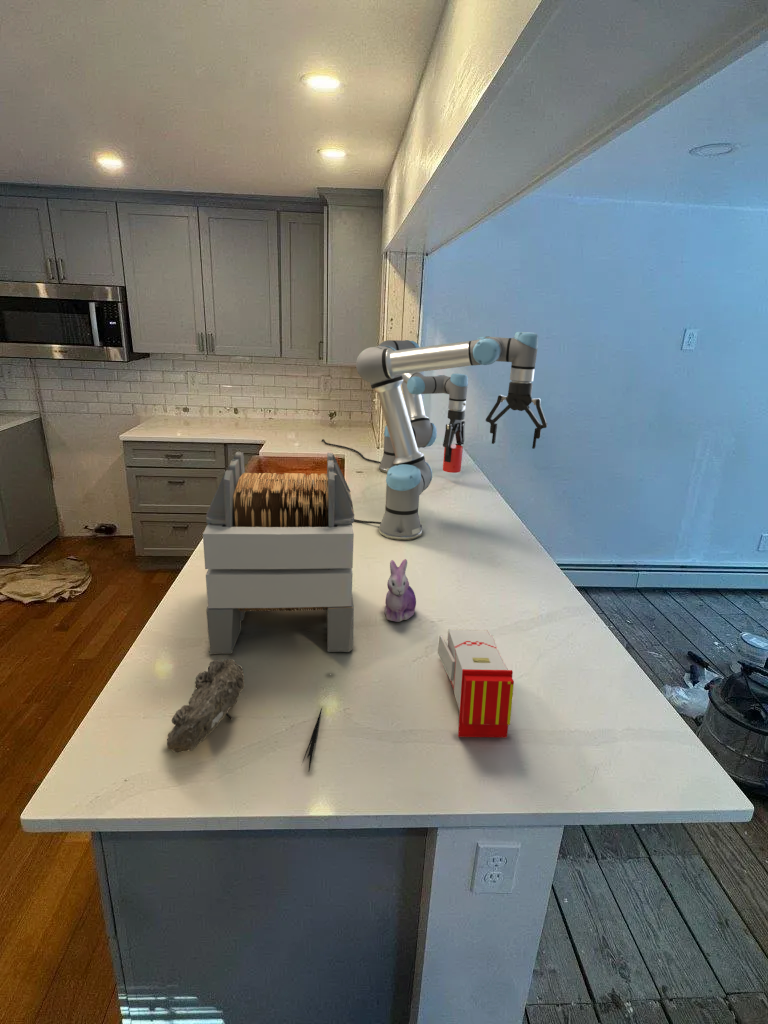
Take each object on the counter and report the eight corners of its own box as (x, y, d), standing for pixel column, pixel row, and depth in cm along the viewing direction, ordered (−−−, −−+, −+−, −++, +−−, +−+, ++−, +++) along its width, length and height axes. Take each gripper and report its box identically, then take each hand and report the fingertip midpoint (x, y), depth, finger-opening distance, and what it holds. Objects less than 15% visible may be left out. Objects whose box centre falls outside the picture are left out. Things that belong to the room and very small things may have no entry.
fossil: (192, 660, 117) (244, 628, 112) (224, 691, 120) (276, 661, 115) (142, 746, 98) (202, 712, 93) (182, 779, 101) (242, 748, 96)
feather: (331, 679, 122) (336, 673, 122) (307, 777, 96) (313, 769, 95) (324, 675, 122) (329, 669, 121) (298, 772, 95) (304, 764, 95)
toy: (488, 613, 130) (523, 677, 101) (484, 667, 133) (517, 744, 104) (435, 612, 130) (455, 676, 101) (432, 666, 133) (451, 743, 103)
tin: (439, 468, 261) (441, 444, 257) (454, 467, 264) (456, 443, 260) (448, 473, 254) (450, 448, 250) (464, 472, 257) (466, 447, 253)
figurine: (392, 627, 141) (395, 572, 136) (374, 608, 149) (376, 556, 144) (425, 619, 145) (429, 566, 140) (405, 601, 154) (408, 550, 149)
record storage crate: (229, 585, 158) (221, 442, 144) (346, 584, 161) (350, 444, 148) (206, 656, 126) (193, 481, 112) (353, 652, 130) (358, 483, 116)
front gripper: (561, 383, 185) (552, 447, 192) (485, 377, 193) (479, 438, 200) (559, 386, 178) (550, 452, 185) (481, 379, 186) (474, 443, 193)
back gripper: (452, 413, 240) (448, 465, 247) (475, 408, 256) (470, 457, 264) (437, 411, 244) (433, 462, 251) (460, 406, 260) (456, 454, 268)
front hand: (513, 445), depth 192 cm, fingers open, 13 cm apart
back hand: (452, 459), depth 257 cm, fingers closed on tin, 8 cm apart
